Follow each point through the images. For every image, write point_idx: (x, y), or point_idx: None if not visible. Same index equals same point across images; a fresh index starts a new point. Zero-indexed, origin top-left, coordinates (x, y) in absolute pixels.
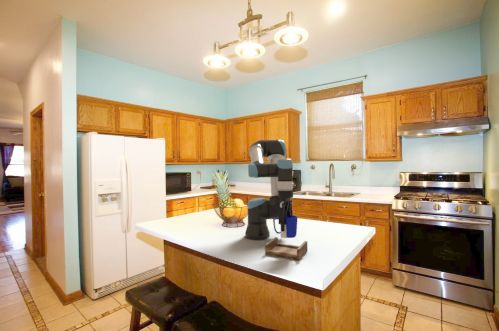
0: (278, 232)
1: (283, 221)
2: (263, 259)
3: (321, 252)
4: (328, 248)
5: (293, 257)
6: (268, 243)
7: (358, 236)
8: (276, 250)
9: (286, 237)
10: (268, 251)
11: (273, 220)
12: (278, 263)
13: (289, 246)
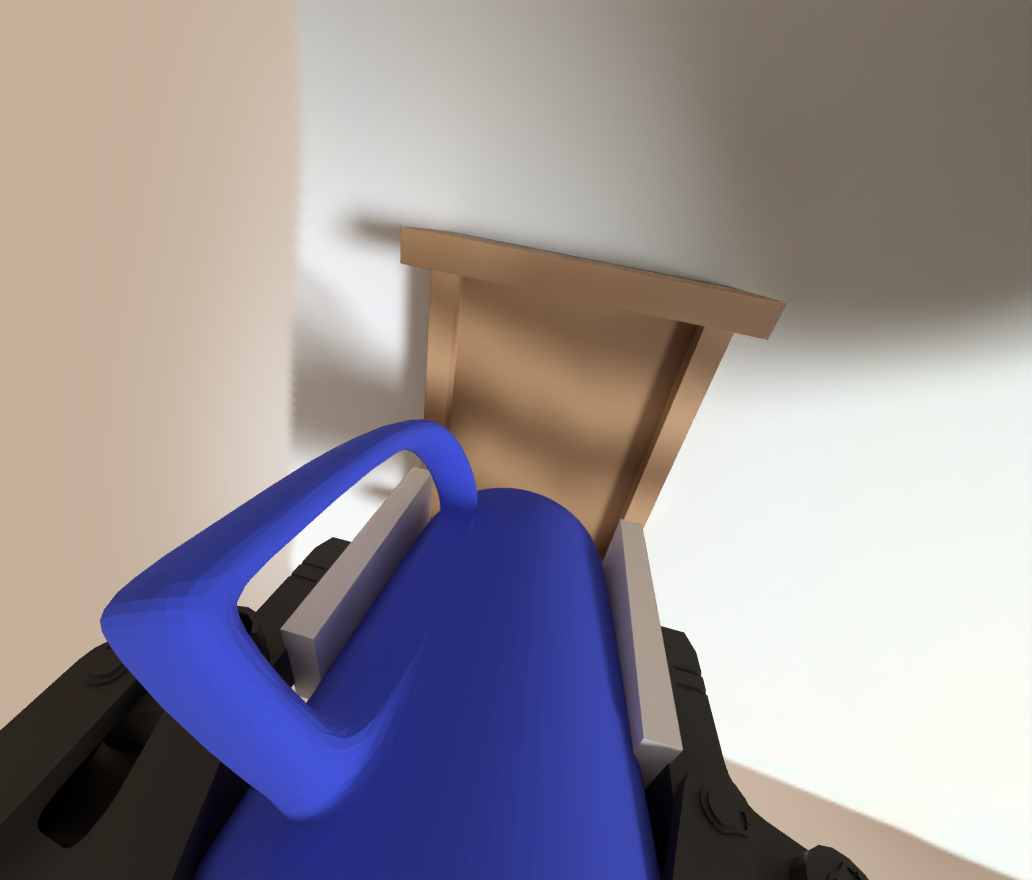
0: (428, 464)
1: (98, 764)
2: (335, 250)
3: None
4: None
5: None
6: (451, 266)
7: (968, 835)
8: (531, 340)
9: (423, 528)
10: (433, 273)
11: (167, 554)
12: (324, 388)
13: (647, 453)
